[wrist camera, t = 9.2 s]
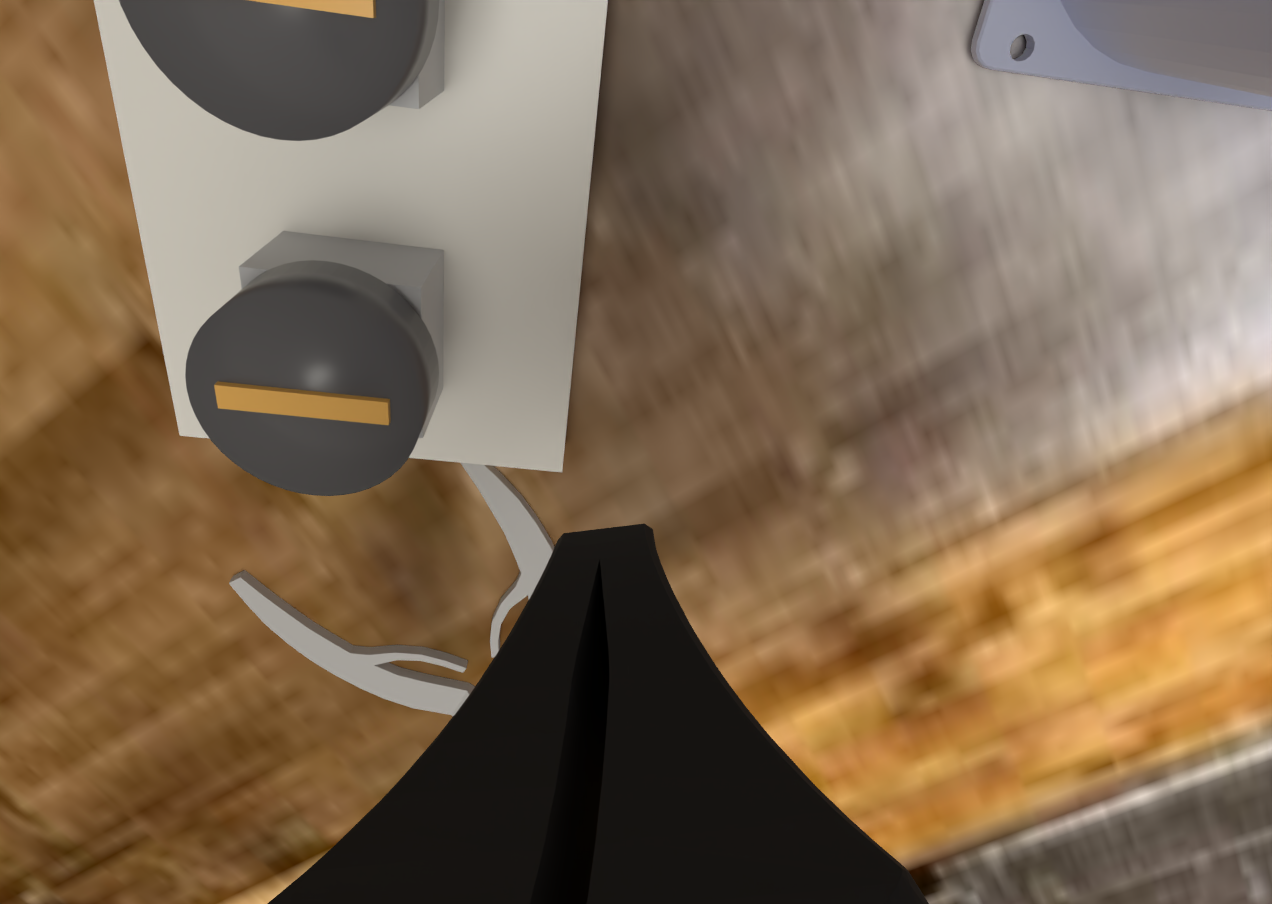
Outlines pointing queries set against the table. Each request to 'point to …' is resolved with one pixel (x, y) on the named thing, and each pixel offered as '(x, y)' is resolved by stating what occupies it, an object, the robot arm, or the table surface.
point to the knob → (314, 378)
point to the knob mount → (397, 211)
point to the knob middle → (288, 58)
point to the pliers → (372, 662)
